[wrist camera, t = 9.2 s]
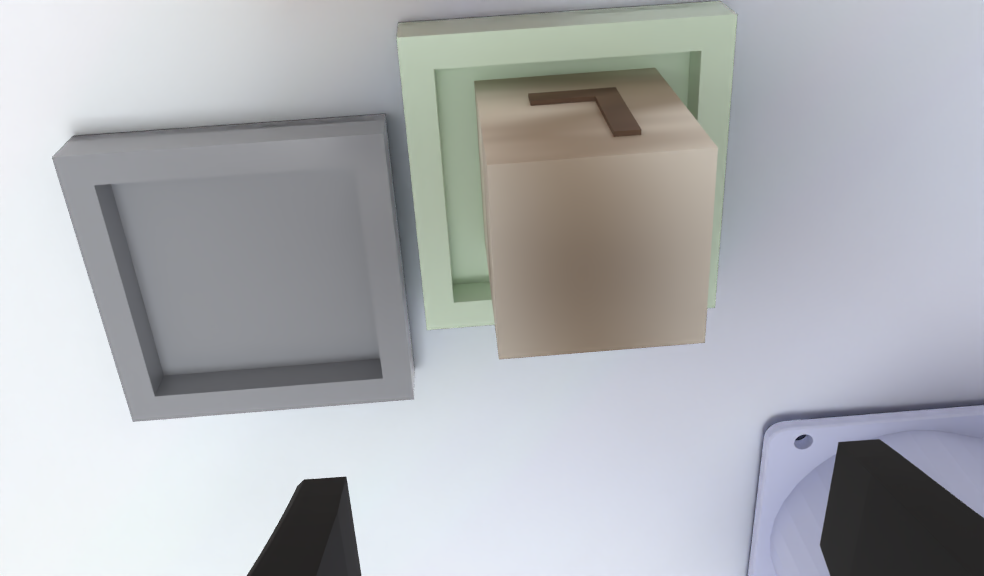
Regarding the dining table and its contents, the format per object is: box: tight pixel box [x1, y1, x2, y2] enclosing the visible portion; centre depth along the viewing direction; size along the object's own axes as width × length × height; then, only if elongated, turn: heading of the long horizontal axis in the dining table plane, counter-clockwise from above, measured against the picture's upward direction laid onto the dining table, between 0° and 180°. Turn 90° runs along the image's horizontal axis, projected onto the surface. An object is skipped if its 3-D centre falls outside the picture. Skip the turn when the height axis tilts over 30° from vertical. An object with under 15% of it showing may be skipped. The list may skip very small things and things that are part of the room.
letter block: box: [474, 68, 718, 359], centre depth 19 cm, size 4×4×5 cm
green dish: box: [396, 1, 737, 330], centre depth 21 cm, size 7×7×1 cm
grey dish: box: [52, 114, 415, 422], centre depth 22 cm, size 7×7×1 cm
